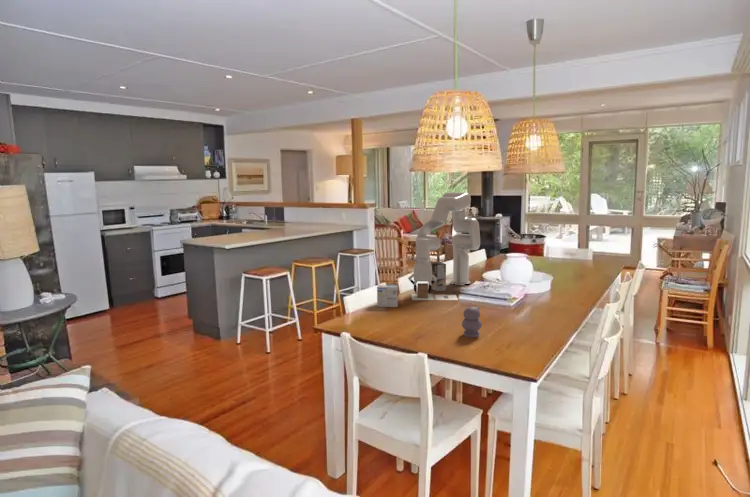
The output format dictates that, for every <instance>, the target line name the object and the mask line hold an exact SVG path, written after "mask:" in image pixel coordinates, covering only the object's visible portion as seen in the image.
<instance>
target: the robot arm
mask: <svg viewBox="0 0 750 497" xmlns="http://www.w3.org/2000/svg"><path fill="white" fill-rule="evenodd" d="M471 202H472V198H471V195H470V194H469V193H468V192H463V191H462V192H460V191H459V192H456V191H455V192H452V191H448V192H445V193H443V195H442V197H439V198H438V199H437V201H436V204H435V206H434V209H433V212H432V215H431V217H430V219H429V220H428V221H426V222H425V223H424V224H423V225H422V226H421V227H420V228H419V230H418V233H417V236H416V239H415V257H414V258H413V259H412V260H413V261H414V266H413V273H412V274H411V275H409V277H408V278H407V279H408V281H409V282H410V283H411V284H412V285H413V291H414V294H417V292H418V282H428V294H431V292H432V289H431V285H432V284H433V283H434V282H435V281H436V280H437V277H436V276H434V275H433V274H432V266H431V263H432V262H431V260H430V259H431V258H430V257H431V256H430V255H431V251H437V250H439V249H440V248H441V245H442V241H441V239H440V238H439V237H437V236H429V235H428V234H429V233H430V232H432V231H433V230H436V229H438V228H441V227H443V226H444V225H446V222H447V219H448V215H449V213H451V218H452V228H453V231H454V232H455V235H453V237H452V238H451V244H452V250H453V252H452V254H453V257H452V259H453V264H452V280H450V284H451V285H453V284H455V285H454V286H464V285H463V284H469V283H472V282H471V281H470V280H469V266H470V265H469V263H470V262H469V258H470V257H469V253H468V251H477V250H479V249H480V246H481V233H480V232H481V231H480V223H479V221H478V220H477V218H475V217H468V216H467V212H466V208H467V207H469V206H470V204H471ZM467 250H468V251H467ZM432 277H433V278H434V280H432ZM412 278H413V279H412ZM431 280H432V281H431Z"/></svg>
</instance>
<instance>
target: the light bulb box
mask: <svg viewBox="0 0 750 497" xmlns="http://www.w3.org/2000/svg"><path fill="white" fill-rule="evenodd" d="M376 301H377V302H376V303H377V304H376V307H378V308H398V307H399V306H398V305H399V284H379V283H378V285H377V287H376Z"/></svg>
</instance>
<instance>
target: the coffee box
mask: <svg viewBox="0 0 750 497" xmlns="http://www.w3.org/2000/svg"><path fill="white" fill-rule="evenodd" d="M430 263H431V266H432V274H433V275H434V276H436V277H437V280H436V281H435V282H434V283H433V284H432V285H431V290H433V291H436V292H443V291H446V288H447V287H446V285H447V283H446V282H447V263H444V262H439V261H434V262H433V261H432V262H430ZM432 280H434V278H433V277H432ZM432 280H431V281H432Z"/></svg>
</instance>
